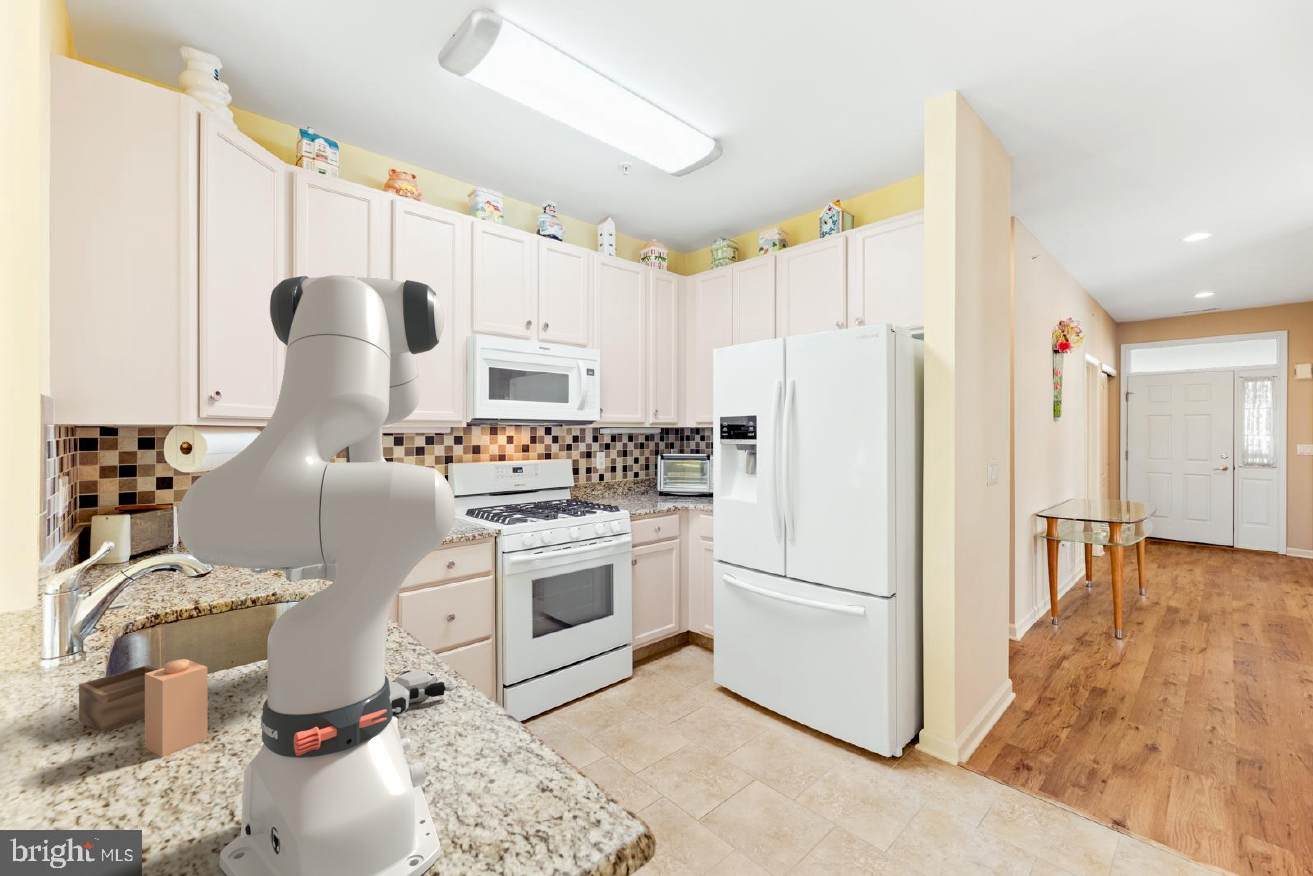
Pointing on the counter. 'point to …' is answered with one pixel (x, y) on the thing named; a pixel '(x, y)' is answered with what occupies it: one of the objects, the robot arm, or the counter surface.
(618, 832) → the counter surface
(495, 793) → the counter surface
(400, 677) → the robot toy
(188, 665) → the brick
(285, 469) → the robot arm
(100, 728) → the brown wooden box
